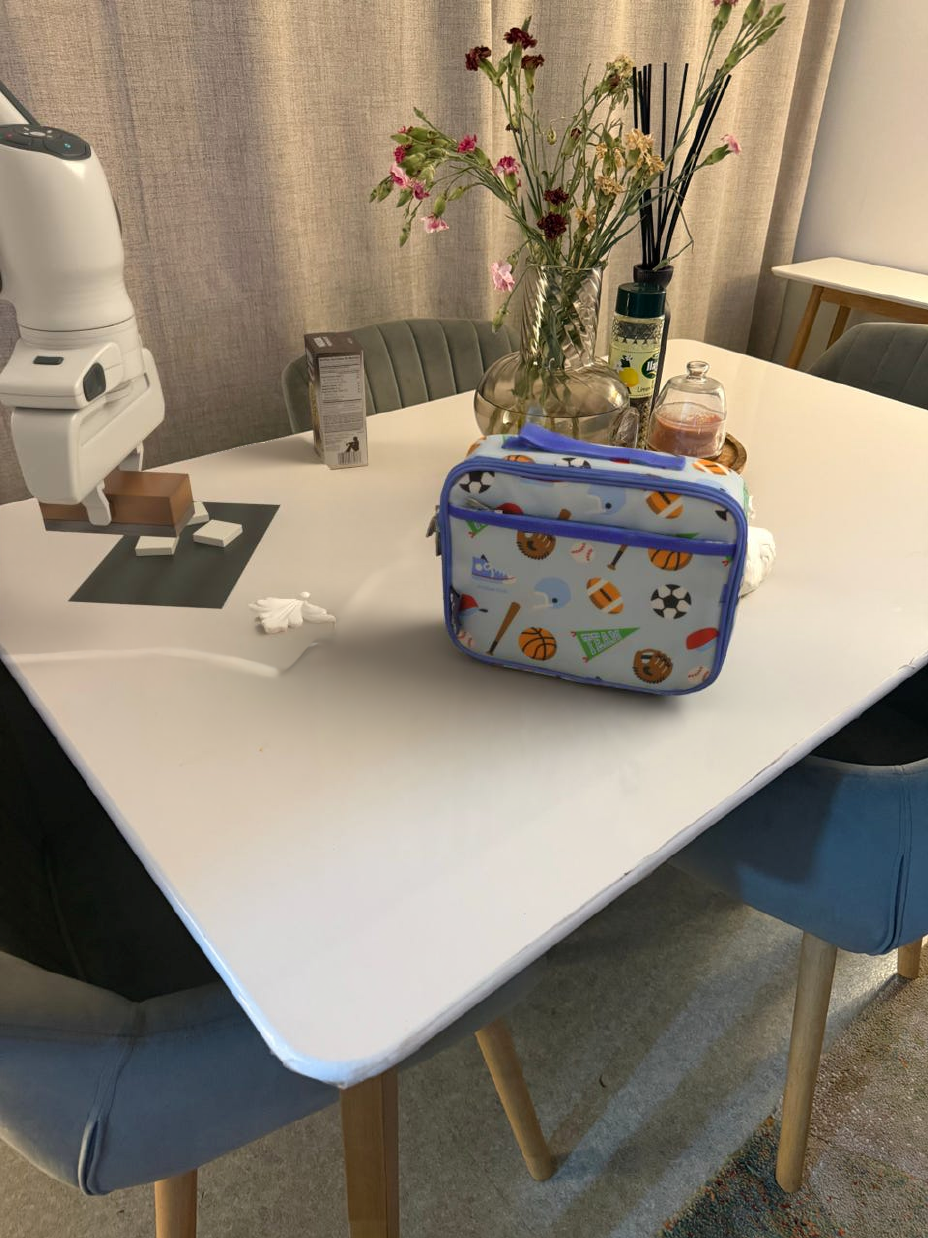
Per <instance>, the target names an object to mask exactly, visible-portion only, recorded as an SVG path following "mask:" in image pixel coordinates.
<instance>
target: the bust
mask: <svg viewBox="0 0 928 1238" xmlns="http://www.w3.org/2000/svg"><path fill="white" fill-rule="evenodd" d="M753 498H754V496H753V495H750V494H749V508H748V515H747V516H748V520H747V523H748V552H747V564H746V571H745V577H744V581H743V586H742V591H741V596H745V595H748V594H749V593H751V592H752V591H756V590H757V589H758V587H759V585H760V584H761V581H763V580H764V579H765V578H766V577H768V575H769V574H770V572H771V570H772V568H773V566H774V564H775V563H776V557H777V554H776V550H775V549H776V543H775V541H774V535H773V534H772V533H771V532H770V531H768V530H767V528H762V527H756V526H750V523H751V522H752V521H753V520H754V519H755V518H756V511H755V509H754V508H753V503H752V500H753Z"/></svg>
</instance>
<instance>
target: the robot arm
mask: <svg viewBox="0 0 928 1238" xmlns="http://www.w3.org/2000/svg"><path fill="white" fill-rule="evenodd" d="M18 99H19V98H17V97H16V96H15V94H13V93H12V91H11V90H9V88H8V87H7V86H6V85H5V84H4V82H2V81H1V80H0V300H3V301H8V302H9V303H10V304H12V305H13V307H14V308H15V313H16V322H17V325H18V330H19V333H20V338H18V340H17V341H16V343H15V345H14V349H13V351H12V354H11V356H10V358H9V360H8V361H7V363H6V365H5V366H4V367H3V369H2V371H1V372H0V403H1V404H2V405H3V406H7V407H13V409H12V411H11V414H10V433H11V437H12V441H13V445H14V449H15V452H16V456H17V459H18V463H19V466H20V470H21V473H22V476H23V479H24V482H25V485H26V487H27V490H28V491H29V493H30V495H32V497H34V498H35V499H36V500H37V502H38V501H40V502H42V503H48V504H66V505H74V504H78V503H80V502H82V503H83V505H84V506H85V507H86V509H87V513H88V517H89V521H90V522H91V523H92V524H94V525H108V524H109V523H110V522H111V521H112V520H113V519H114V517H115V515H116V514H115V510H114V505H113V500H107V499H106V497H105V495H104V493H103V492H102V490H103V489H104V488H105V485H104V480H103V479H104V478H105V477H106V476H107V475H108V474H109V473H110V472H111V471H112V470H115V469H116V468H117V467H118V469H119V470H122V471H142V469H143V468H142V467H143V461H144V460H143V459H144V449H145V448H144V443H143V441H144V440H145V439H146V438H147V437H148V436H149V435H150V434H151V433H152V432H153V431H154V430H155V429H156V428H157V427H159V426H160V425H161V423H162V422H163V421H164V420H165V412H166V403H165V397H164V393H163V389H162V385H161V384H162V383H161V381H160V376H159V372H158V369H157V365H156V363H155V359H154V356H153V354H152V353H151V350H149V349H148V348H146V347H144V345H143V340H142V337H141V335H140V333H139V327H138V322H137V317H136V312H135V309H134V304H133V302H132V300H131V298H130V296H129V294H128V292H127V288H126V285H125V284H126V283H125V279H124V267H125V251H124V244H123V235H122V234H123V227H122V226H123V225H122V219H121V218H122V217H121V214H120V210H119V206H118V205H117V202H116V200H115V198H114V196H113V194H112V191H111V187H110V184H109V182H108V178H107V175H106V173H105V170H104V168H103V165H102V164H101V161H100V159H99V157H98V155H97V153H96V151H95V150H94V148H93V147H92V145H91V144H90V143H89V142H87V141H86V140H84V139H83V138H82V137H80V136H79V135H77V134H75V133H73V132H70V131H67V130H64V129H60V128H57V127H53V126H48V125H41V124H40V123H39V121H38V120H37V119H36V118H35V117H34V116H33V115H32V113H30V111H29V110H28V109H27V108H26V107H25V106H24V105H23V104H22V103H21V101H20V100H18Z"/></svg>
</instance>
